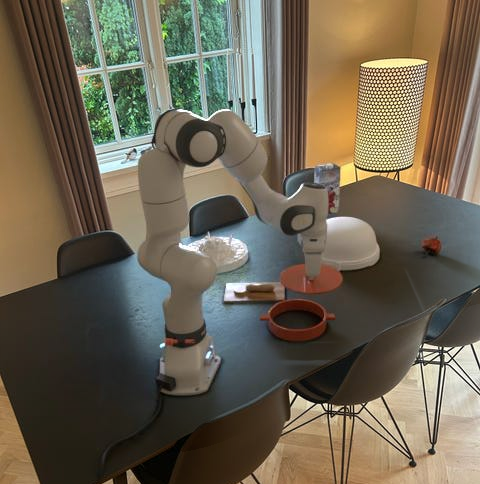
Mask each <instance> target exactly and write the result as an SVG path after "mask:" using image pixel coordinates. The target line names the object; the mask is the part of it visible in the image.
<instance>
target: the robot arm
mask: <svg viewBox="0 0 480 484" xmlns="http://www.w3.org/2000/svg"><path fill="white" fill-rule="evenodd" d="M150 144H151V147H152V149H149V150H146V151H145V152H144V153H142V154H141V155H140V157H139V158H138V161H137V180H138V181H137V182H138V190H139V195H140V200H141V204H142V205H141V206H142V210H143V215H144V220H145V221H144V222H145V228H146V230H145V231H146V233H145V240H143V241H142V242H141V244H140V246H139V247H138V250H137V253H136V254H137V255H136V257H137V263H138V265H139V266H140V267H141V268H142V270H144V271H146V272H147V274H149V275H150V276H152V277H154V278H157V279H159V280H161V281H163V282H166V283H167V284H168V285H169V288H170V293H168V294H167V295H166V296H165V298H164V299H163V301H162V304H161V305H162V311H163V318H164V335H165V336H164V338H163V343H161V344H160V345H159V347H160V348H164V349H163V353H164V354H162V356H161V357H160V358H159V374H158V375H156V376H155V378H154V379H155V385H156V387H158V390H157V393H156V394H157V397H158V407H157V410H156V412H155V413H154V414H153V416H152V417H151V418H150V420H149V421H148V422H146V423H145V424H144V425H143V426H141V427H140V428H138V429H137V430H136V431H135V432H133V433H131V434H129V435H126V436H125V437H123V438H121V439H118V440H116V441H114V442H113V443H111V444H110V445H109V446H108V447H107V448H106V449H105V450H104V452H103V454H102V457H101V460H100V469H99V475H98V477H99V478H102V477H103V475H104V467H105V459H106V457H107V455H108V453H109V451H111V450H112V449H113V448H114V447H115V446H116V445H119V444H120V443H123V442H125V441H127V440H130V439H131V438H133V437H136V436H137V435H138V434H139V433H141V432H142V431H144V430H145V429H146V428H148V427H149V426H150V425H151V424H152V423H153V422H154V421H155V420H156V418H157V416H158V415H159V413H160V412H161V409H162V400H163V397H162V395H161V393H162V394H165V395H169V396H170V395H171V396H195V395H200V394H203V393H205V392H206V393H207V392H208V390H209V388H210V386H211V384H212V382H213V379H214V378H215V375H216V373H217V371H218V369H219V368H220V365H221V363H222V358H221V357H220V355H217V354H216V351H215V346H214V341H213V338H212V336H211V335H209V333H208V331H207V323H206V320H205V318H204V313H203V312H204V311H203V297H204V293H205V292H207V291H208V290H209V289H211V287H212V286H213V285H214V283H215V281H216V279H217V275H218V273H217V267H216V264H215V262H214V260H213V259H211V258H210V257H209V256H207V255H206V254H204V253H203V252H201V251H199V250H196V249H193V248H191V247H188V246H187V245H185V244H184V243H183V242H182V238H181V233H182V232H183V231H184V230H186V229H187V227H188V226H189V223H190V220H191V219H190V212H189V205H188V200H187V199H188V198H187V193H186V188H185V182H184V173H185V168H186V166H189V167H192V168H205V167H207V166H210V165H211V164H213V163H214V162H215V161H216V160H218V161H219V162H220V164H221V165H222V166H223V167H224V169H225V170H226V171H227V172H228V173H229V175H231V176H232V178H234V179H235V180H236V181H237V182H238V183H239V185H240V186H241V187H242V188H243V191H244V192H245V193H246V194H247V196H248V197H249V198H250V200H251V202H252V206H253V209H254V213H255V216H256V218H257V219H258V221H259V222H261V223H263V224H265V225H267V226H270V227H271V228H273V229H275V230H277V231H278V232H280V233H282V234H284V235H287V236H296V235H297V243H298V244H299V245H300V247H301V250H302V252H303V254H304V255H303V256H304V264H306V273H307V276H308V278H309V280H314V277H318V276H319V274H320V268H321V261H322V252H324V251H325V244H326V242H327V221H326V219H327V215H328V192H327V189H326V188H325V187H324V186H323V185H320V184H318V183H314V182H313V181H311V182H310V181H307V182H303V183H301V185H300V187H299V189H298V190H297V191H296V192H295V193H294V194H293V195H291V196H290V197H288V196H285V195H283V194H282V193H280V192H279V191H276V190H275V189H272V188H270V186H269V184H268V183H267V181H266V180H265V179H264V176H263V175H262V174H264V171H265V170H266V168H267V166H268V165H267V164H268V160H269V159H268V155H267V153H266V150H265V148H264V146H263V144H262V142H261V140H260V139H259V138H258V136H257V135H256V133H254V132H253V129H251V128H250V126H249V124H247V122H245V121H244V120H243V118H241V117H240V116H239V115H238V114H237V113H236V112H234V111H233V110H231V109H227V108H225V109H221V110H220V109H219V110H218V111H216V112H214V113H213V114H212V115H210V117H209V118H207V119H205V118H203V117H201V116H199V115H198V114H196V113H194V112H192V111H188V110H185V109H183V108H179V107H178V108H176V107H175V108H174V107H173V108H168V109H166V110H164V111H163V112H161V113H160V114H159V115H158V117H157V118H156V121H155V124H154V128H153V135H152V139H151V143H150Z"/></svg>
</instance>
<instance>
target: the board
mask: <svg viewBox="0 0 480 484" xmlns="http://www.w3.org/2000/svg"><path fill="white" fill-rule="evenodd" d="M249 284H273V285H274V287H275V289H274V290H273V291H250V292H249V291H247V292H246V293H245V294H241V295H239V294H235V293H234V288H235V287H236V286H247V285H249ZM285 289H286V288H285V287H284V286H283V285H282V284H281V282H280V281H263V282H261V281H259V282H226V284H225V290H224V295H223V304H227V305H228V304H234V303H275V302H277V303H279V302H282V301H285V300H286V295H285V291H286V290H285Z"/></svg>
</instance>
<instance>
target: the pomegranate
mask: <svg viewBox="0 0 480 484" xmlns="http://www.w3.org/2000/svg"><path fill="white" fill-rule="evenodd" d="M421 247H422V249H423V251H424V252H425V255H424V257H427V256H428V254H432V255H433V256H436V255H438V254H439V253H440V252H441V250H442V242H441V241H440V239H438V236H436V237H427V238H425V239H424V240H423V241H422V244H421Z"/></svg>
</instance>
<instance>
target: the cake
mask: <svg viewBox="0 0 480 484" xmlns="http://www.w3.org/2000/svg"><path fill="white" fill-rule="evenodd" d="M186 246H188V247H191V248H193V249H196V250H199V251H201V252H203V253H204V254H206V255H207V256H209V257H210V258H211V259H213V260H214V262H215V264H216V267H217V274H223V273H228V272H231V271H234V270H237V269H238V268H240V267H242V266H244V265H245V263H247V261H248V259H249V248H248V245H247V244H246V243H244V242H243V241H242V240H240V239H238V238H237V239H236V238H233V234H231V236H230V237H227V236H216V235H212V236H211V234H210V231H207V235H206V236H205V237H204V238H201V239H197V240H195V241H193V242H190V243H188V244H187V245H186Z"/></svg>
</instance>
